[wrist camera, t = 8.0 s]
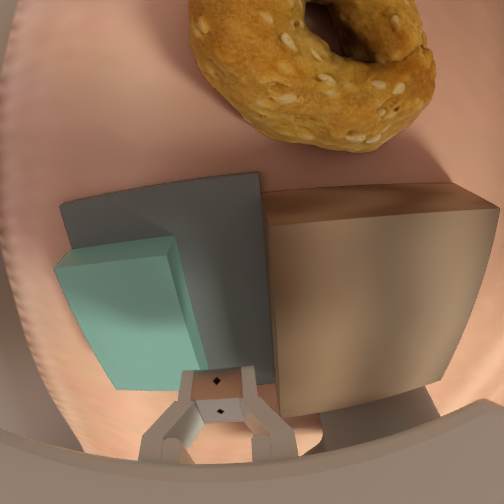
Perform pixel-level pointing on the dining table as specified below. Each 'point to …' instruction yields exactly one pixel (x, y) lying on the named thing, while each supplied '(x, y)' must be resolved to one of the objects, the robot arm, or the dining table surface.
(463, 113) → the dining table surface
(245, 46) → the bagel
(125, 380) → the mint green block
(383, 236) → the brown block
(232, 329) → the mat
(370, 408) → the coffee mug
